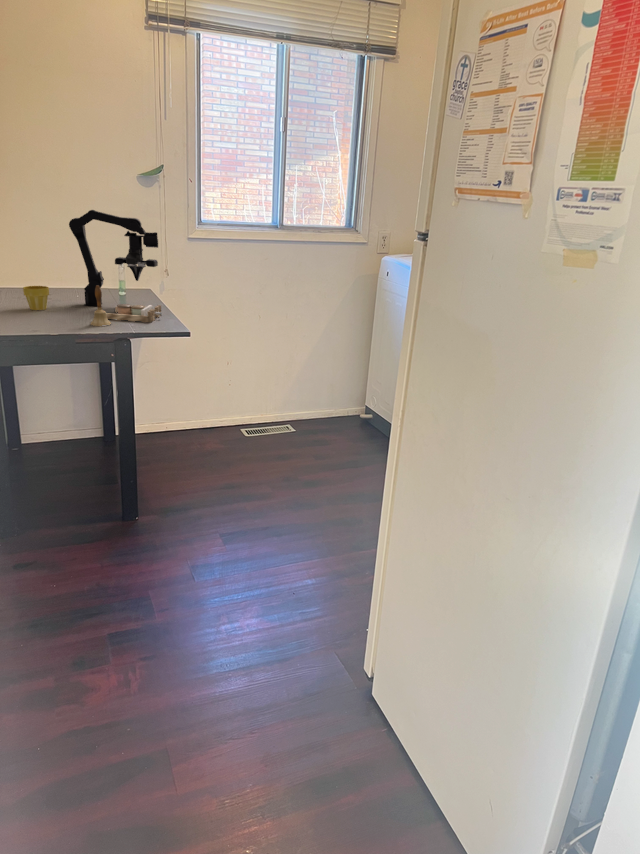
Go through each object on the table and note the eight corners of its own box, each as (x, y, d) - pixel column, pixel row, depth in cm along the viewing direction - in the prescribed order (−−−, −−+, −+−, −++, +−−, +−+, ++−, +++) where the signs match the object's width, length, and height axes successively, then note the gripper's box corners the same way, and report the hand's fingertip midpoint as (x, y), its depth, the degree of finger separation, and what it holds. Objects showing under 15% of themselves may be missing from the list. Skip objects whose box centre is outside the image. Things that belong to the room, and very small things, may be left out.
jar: (115, 317, 270) (114, 306, 268) (120, 314, 276) (120, 303, 274) (129, 318, 270) (128, 307, 268) (134, 315, 276) (133, 304, 274)
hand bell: (91, 326, 251) (88, 287, 245) (89, 322, 258) (86, 283, 252) (112, 326, 254) (110, 287, 248) (110, 322, 261) (107, 283, 255)
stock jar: (129, 318, 270) (129, 307, 268) (133, 315, 275) (133, 304, 274) (143, 319, 270) (143, 308, 268) (147, 316, 276) (147, 305, 274)
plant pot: (25, 307, 278) (23, 285, 275) (50, 306, 282) (48, 285, 279) (25, 311, 270) (22, 289, 266) (50, 311, 274) (48, 289, 270)
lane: (103, 319, 265) (102, 308, 264) (116, 312, 280) (115, 302, 279) (151, 322, 265) (150, 311, 263) (161, 315, 280) (161, 305, 279)
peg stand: (141, 320, 266) (140, 310, 265) (150, 314, 279) (149, 304, 277) (157, 321, 266) (157, 311, 265) (165, 315, 279) (165, 306, 277)
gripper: (109, 246, 280) (111, 281, 285) (150, 249, 279) (151, 284, 285) (118, 244, 290) (119, 278, 296) (157, 247, 290) (158, 281, 295)
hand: (137, 280), depth 293 cm, fingers closed
